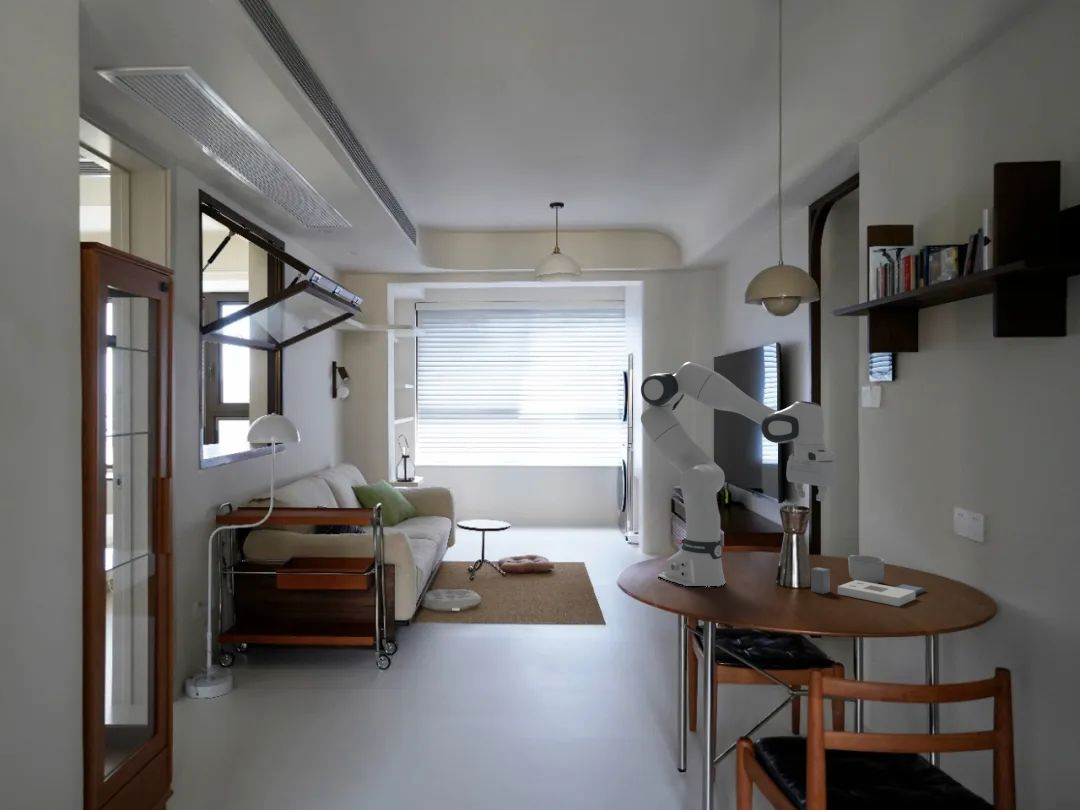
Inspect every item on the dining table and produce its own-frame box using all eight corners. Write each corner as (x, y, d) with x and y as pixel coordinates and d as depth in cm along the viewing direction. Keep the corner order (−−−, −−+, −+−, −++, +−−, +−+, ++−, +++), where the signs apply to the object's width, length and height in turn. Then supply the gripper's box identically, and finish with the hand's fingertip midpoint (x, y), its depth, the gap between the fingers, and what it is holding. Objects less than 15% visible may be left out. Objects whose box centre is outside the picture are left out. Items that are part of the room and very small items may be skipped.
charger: (811, 591, 220) (811, 568, 220) (817, 589, 223) (817, 566, 223) (823, 594, 217) (823, 570, 217) (829, 591, 220) (829, 568, 220)
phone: (887, 593, 218) (887, 589, 218) (901, 587, 225) (901, 583, 225) (910, 597, 213) (910, 594, 213) (925, 591, 220) (925, 587, 220)
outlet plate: (837, 594, 217) (837, 585, 217) (855, 587, 225) (855, 579, 225) (898, 606, 204) (898, 597, 204) (915, 599, 211) (915, 590, 211)
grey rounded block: (890, 586, 226) (890, 561, 226) (856, 586, 226) (856, 561, 226) (870, 576, 240) (869, 552, 240) (838, 576, 240) (838, 552, 240)
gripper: (780, 452, 225) (781, 496, 225) (821, 455, 205) (822, 503, 205) (798, 451, 227) (799, 495, 227) (839, 455, 207) (841, 502, 207)
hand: (810, 499), depth 216 cm, fingers open, 8 cm apart
